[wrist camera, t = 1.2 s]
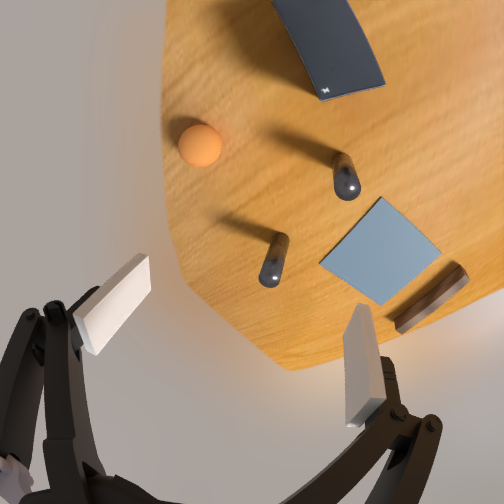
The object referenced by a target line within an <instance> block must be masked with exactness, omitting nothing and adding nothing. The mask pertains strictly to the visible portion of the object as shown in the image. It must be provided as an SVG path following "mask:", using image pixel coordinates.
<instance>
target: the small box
mask: <svg viewBox="0 0 504 504" xmlns="http://www.w3.org/2000/svg"><path fill="white" fill-rule="evenodd" d="M272 4H273V6H274V7H275V9H276V11H277V13H278V15H279V16H280V18H281V20H282V22H283V24H284V26H285V27H286V29H287V31H288V33H289V35H290V37H291V39H292V41H293V43H294V45H295V47H296V49H297V51H298V53H299V55H300V57H301V59H302V62H303V64H304V66H305V68H306V70H307V72H308V75H309V77H310V79H311V81H312V84H313V86H314V88H315V90H316V93H317V95H318V98H319V100H320V101H322V102H324V101H327V100H330V99H334V98H337V97H341V96H345V95H349V94H352V93H356V92H361V91H365V90H369V89H374V88H379V87H384V86H385V85H386V83H385V80H384V77H383V75H382V72H381V70H380V67H379V65H378V62H377V60H376V58H375V55H374V53H373V51H372V48H371V46H370V44H369V42H368V40H367V38H366V35H365V33H364V31H363V29H362V27H361V25H360V23H359V21H358V19H357V18H356V16H355V14H354V12H353V10H352V8H351V7H350V5H349V3H348V1H347V0H274V1H272Z"/></svg>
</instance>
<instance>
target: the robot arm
mask: <svg viewBox="0 0 504 504" xmlns="http://www.w3.org/2000/svg"><path fill="white" fill-rule="evenodd" d="M150 291H151V283H150V271H149V258H148V255H145V254H141V253H138V254H137V255H136V256H134V257H133V258H132V259H131V260H130V261H129V262H128V263H126V264H125V265H124V266H123V267H122V268H121V269H120V270H118V271H117V272H116V273H115V274H114V275H113V276H112V277H111V278H110V279H108V280H107V281H106V282H105V283H104V284H103V285H102V286H101V287H100V286H95V287H93V288H91V289H90V290H88V291H87V292H86V293H85V294H84V295H83V296H82V297H81V298H80V299H79V300H78V301H77V302H76V303H74V304H73V305H72V306H71V307H70V308H69V309H68V310H67V311H66V309H65V306H64V304H63V302H61V301H59V300H54V301H51V302H49V303H47V304H46V305H45V306H44V308H43V311H44V314H45V317H44V316H41V315H40V313H39V310H38V309H36V308H29V309H27V310H25V311H24V312H23V313H22V315H21V317H20V319H19V321H18V323H17V325H16V327H15V329H14V332H13V334H12V336H11V338H10V341H9V343H8V345H7V348H6V350H5V353H4V356H3V358H2V361H1V363H0V496H1V497H3V498H4V499H5V500H6V501H7V502H8V503H9V504H181V503H173V502H166V501H160V500H157V499H156V498H154V497H153V496H151V495H150V494H149V493H147V492H146V491H145V490H143V489H142V488H140V487H139V486H138V485H136V484H134V483H132V482H130V481H128V480H126V479H124V478H122V477H120V476H117V475H115V476H114V477H112V476H106V473H105V470H104V468H103V465H102V464H101V462H100V460H99V458H98V455H97V451H96V447H95V442H94V438H93V433H92V428H91V424H90V418H89V412H88V407H87V400H86V393H85V385H84V375H83V364H82V352H81V348H80V347H81V346H82V345H83V344H84V346H85V348H86V351H88V352H90V353H92V354H94V355H96V356H97V355H98V354H99V352H100V351H101V350H102V349H103V347H104V346H105V345H106V344H107V342H108V341H109V340H110V338H111V337H112V336H113V335H114V334H115V332H116V331H117V330H118V329H119V328H120V326H121V325H122V324H123V323H124V322H125V320H126V319H127V318H128V317H129V316H130V314H131V313H132V312H133V311H134V310H135V308H136V307H137V306H138V305H139V304H140V303H141V301H142V300H143V299H144V298H145V297H146V295H147V294H148V293H149V292H150ZM343 347H344V364H345V365H344V366H345V395H346V396H345V399H346V427H360V426H361V425H362V424H363V423H364V422H365V430H363V431H362V432H361V433H360V434H359V435H358V436H357V438H356V439H355V440H354V441H353V442H352V443H351V444H350V445H349V446H348V447H347V448H346V449H345V450H344V451H343V452H342V453H341V454H340V455H339V456H338V457H337V458H335V459H334V460H333V461H332V462H331V463H330V464H329V465H328V466H327V467H326V468H325V469H323V470H322V471H321V472H320V473H319V474H317V475H316V476H315V477H314V478H313V479H312V480H310V481H309V482H308V483H307V484H305V485H304V486H303V487H301V488H300V489H299V490H297V491H296V492H295V493H294V494H292V495H291V496H289V497H288V498H287V499H285V500H284V501H282V502H281V503H280V504H337V503H338V502H339V501H340V500H341V499H342V498H343V497H344V496H345V495H346V494H347V493H348V492H349V491H350V490H351V489H352V488H353V487H354V486H355V485H356V484H357V483H358V482H359V481H360V480H361V479H362V478H363V477H364V476H365V475H366V474H367V472H368V471H369V470H370V469H371V468H372V467H373V466H374V464H375V463H376V462H377V461H378V460H379V458H380V457H381V456H382V455H383V454H384V453H385V451H386V450H387V449H391V450H392V451H391V453H390V455H389V458H388V460H387V462H386V464H385V466H384V468H383V470H382V472H381V474H380V476H379V478H378V480H377V482H376V484H375V486H374V488H373V490H372V491H371V493H370V495H369V497H368V498H367V500H366V502H365V504H418V503H419V500H420V498H421V496H422V493H423V491H424V488H425V485H426V483H427V480H428V477H429V474H430V471H431V468H432V465H433V462H434V459H435V456H436V452H437V449H438V445H439V441H440V437H441V433H442V428H443V425H442V422H441V420H440V419H439V417H437V416H436V415H433V414H429V415H427V416H425V417H424V418H423V419H422V418H419V417H416V416H413V415H411V414H409V412H408V410H407V408H406V407H405V406H404V405H402V404H401V401H400V395H399V389H398V384H397V380H396V374H395V368H394V364H393V363H392V361H391V360H390V358H389V357H384V356H380V354H379V349H378V343H377V338H376V333H375V328H374V324H373V319H372V315H371V310H370V306H369V305H365V304H360V303H358V304H357V306H356V308H355V311H354V313H353V315H352V317H351V320H350V322H349V324H348V326H347V328H346V331H345V333H344V335H343ZM43 385H44V402H45V418H46V430H47V439H45V440H44V441H43V453H44V459H45V465H46V471H47V476H48V481H49V485H50V489H46V490H42V491H37V492H32V491H31V488H30V486H32V485H33V483H34V482H33V478H32V477H31V476H30V473H29V471H28V470H29V467H30V463H31V459H32V451H33V442H34V434H35V427H36V420H37V414H38V409H39V404H40V399H41V394H42V390H43Z"/></svg>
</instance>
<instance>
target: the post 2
mask: <svg viewBox="0 0 504 504" xmlns="http://www.w3.org/2000/svg"><path fill="white" fill-rule="evenodd" d="M332 168H333V179H334V190H335V193H336V195H337V196H338V197H339V198H340V199H342V200H345V201H351V200H354V199H355V198H357V197H358V196H359V194H360V192H361V185H360V182H359V179H358V176H357V173H356V170H355V168H354V165H353V162H352V159H351V158H350V156H349V155H347V154H345V153H339V154H336V155H335V156H334V157H333V159H332Z"/></svg>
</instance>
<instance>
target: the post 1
mask: <svg viewBox="0 0 504 504" xmlns="http://www.w3.org/2000/svg"><path fill="white" fill-rule="evenodd" d="M288 246H289V237H288V236H287V235H286V234H284V233H276V234H274V235H273V237H272V240H271V243H270V246H269V249H268V251H267V254H266V257H265V260H264V263H263V266H262V269H261V271H260V274H259V282H260V283H261V284H262V285H263V286H265V287H268V288H273V287H276V286H277V285H278V284H279V282H280V278H281V274H282V270H283V266H284V262H285V258H286V254H287V250H288Z"/></svg>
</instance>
